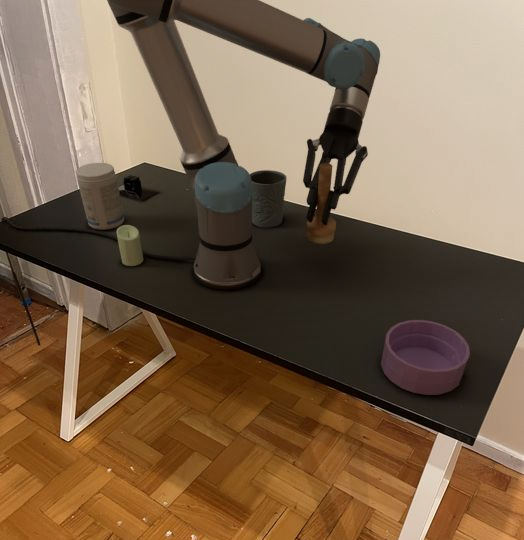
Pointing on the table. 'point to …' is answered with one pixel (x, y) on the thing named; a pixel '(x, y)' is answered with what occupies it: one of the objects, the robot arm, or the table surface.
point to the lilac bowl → (424, 357)
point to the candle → (129, 245)
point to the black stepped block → (134, 189)
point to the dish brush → (322, 209)
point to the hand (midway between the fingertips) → (316, 221)
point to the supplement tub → (100, 195)
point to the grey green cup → (267, 197)
